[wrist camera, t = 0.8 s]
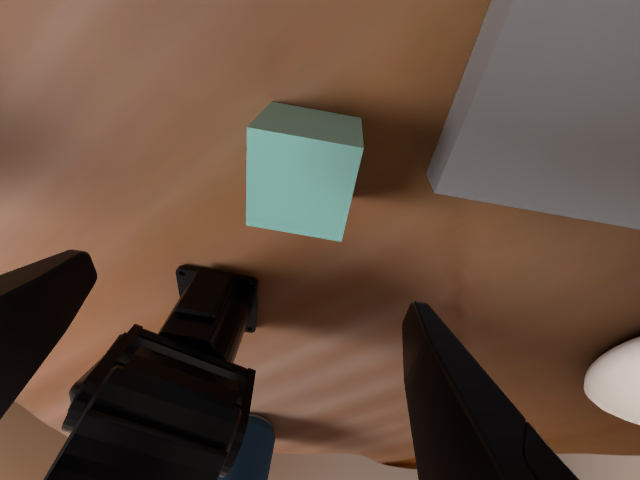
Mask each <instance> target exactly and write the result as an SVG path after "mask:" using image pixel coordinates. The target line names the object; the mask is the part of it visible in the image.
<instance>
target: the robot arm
mask: <svg viewBox="0 0 640 480" xmlns="http://www.w3.org/2000/svg"><path fill="white" fill-rule="evenodd" d="M176 277H177V283H178V289H179V295H180V299H179V300H178V302H177V304H176V305H175V307H174V308H173V310H172V312H171V313H170V315H169V316H168V318H167V320H166V321H165V323H164V325H163V326H162V328H161V329H160V331H159V333H158V334H156V333H154V332H151V331H148V330H146V329H143V327H142V326H140V325H137V324H134V325H133V327H132V328H131V329H130V330H129V331H128V333H124V334H122V335H119V337H118V338H117V339H116V341H115V342H114V343H113V345H112V346H111V347H110V349H109V350H108V351H107V353H106V354H105V355H104V356H103V357H102V358H101V359H100V360H99V361H98V362H97V363H96V364H95V365H94V366H93V367H92V368H91V369H90V370H89V371H87V372H86V373H85V374H84V375H83V376H82V377H81V378H80V379H79V380H78V381H77V382H76V383H75V384H74V385H73V386H72V388H71V390H70V391H69V396H70V401H71V405H70V407H69V409H68V413H67V416H66V418H65V420H64V422H63V425H62V430H63V431H66V432H70V433H71V434H70V435H69V437H68V439H67V441H66V442H65V444H64V446H63V447H62V449H61V451H60V452H59V454H58V456H57V458H56V459H55V461H54V463H53V464H52V466H51V468H50V470H49V471H48V473H47V475H46V476H45V478H44V480H218V478H219V477H225V476H226V475H227V474H228V472H229V471H230V469H231V468H232V466H233V464H234V462H235V460H236V457H237V455H238V453H239V450H240V448H241V445H242V442H243V439H244V436H245V432H246V429H247V424H248V419H249V413H250V406H251V400H252V393H253V386H254V380H255V373H256V370H253V369H250V368H248V369H247V368H244V367H242V366H239V365H236V364H234V363H233V362H234V360H235V357H236V354H237V351H238V348H239V345H240V342H241V340H242V337H243V334H244V332H249V333H253V332H255V330H256V327H257V304H258V281H257V279H255V278H253V277H247V276H241V275H235V274H229V273H224V272H218V271H212V270H206V269H200V268H194V267H189V266H179V267H178V269H177V270H176ZM96 280H97V272H96V270H95V267H94V265H93V262H92V259H91V257H90V255H89V254H88V253H87V252H85V251H79V250H67V251H65V252H62V253H59V254H56V255H54V256H51V257H48V258H46V259H43V260H40V261H37V262H35V263H32V264H29V265H26V266H24V267H21V268H18V269H16V270H13V271H10V272H7V273H5V274H2V275H0V419H1V418H2V416H3V415H4V414H5V412H6V411H7V410H8V408H9V407H10V406H11V404H12V403H13V402H14V400H15V399H16V398H17V396H18V395H19V394H20V392H21V391H22V390H23V388H24V387H25V386H26V384H27V383H28V382H29V380H30V379H31V378H32V376H33V375H34V374H35V372H36V371H37V370H38V368H39V367H40V366H41V364H42V363H43V362H44V360H45V359H46V357H47V356H48V355H49V353H50V352H51V351H52V349H53V348H54V347H55V345H56V344H57V343H58V341H59V340H60V339H61V337H62V336H63V335H64V333H65V332H66V330H67V329H68V327H69V326H70V324H71V322H72V321H73V319H74V317H75V316H76V314H77V313H78V311H79V309H80V308H81V306H82V304H83V303H84V301H85V299H86V298H87V296H88V294H89V293H90V291H91V289H92V288H93V286H94V284H95V282H96ZM250 283H252V284H250ZM402 338H403V367H404V384H405V391H406V398H407V405H408V412H409V418H410V425H411V432H412V438H413V445H414V452H415V459H416V465H417V472H418V478H419V480H579V479H578V478H577V477H576V475H575V474H574V473H573V472H572V471H571V470H570V469H569V468H568V467H567V466H566V465H565V464H564V462H563V461H562V460H561V459H560V458H559V457H558V456H557V455H556V453H555V452H554V451H553V450H552V449H551V448H550V447H549V445H548V444H547V443H546V442H545V441H544V440H543V439H542V437H541V436H540V435H539V434H538V433H537V432H536V430H535V429H534V428H533V427H532V426H531V424H530V423H529V422H526V419H525V418H524V416H523V415H522V414H521V413H520V412H519V411H518V409H517V408H516V407H515V406H514V405H513V403H512V402H511V401H510V400H509V399H508V398H507V396H506V395H505V394H504V393H503V392H502V391H501V389H500V388H499V387H498V386H497V385H496V383H495V382H494V381H493V380H492V379H491V378H490V376H489V375H488V374H487V373H486V372H485V371H484V369H483V368H482V367H481V366H480V365H479V363H478V362H477V361H476V360H475V359H474V358H473V356H472V355H471V354H470V353H469V352H468V351H467V349H466V348H465V347H464V346H463V345H462V343H461V342H460V341H459V340H458V339H457V338H456V336H455V335H454V334H453V333H452V332H451V331H450V329H449V328H448V327H447V326H446V325H445V323H444V322H443V321H442V320H441V319H440V318H439V316H438V315H437V314H436V313H435V312H434V311H433V309H432V308H431V307H430V306H429V305H428V304H426V303H422V302H415V301H414V302H412V303H411V304H410V306H409V308H408V311H407V313H406V315H405V318H404V320H403V325H402Z"/></svg>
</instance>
